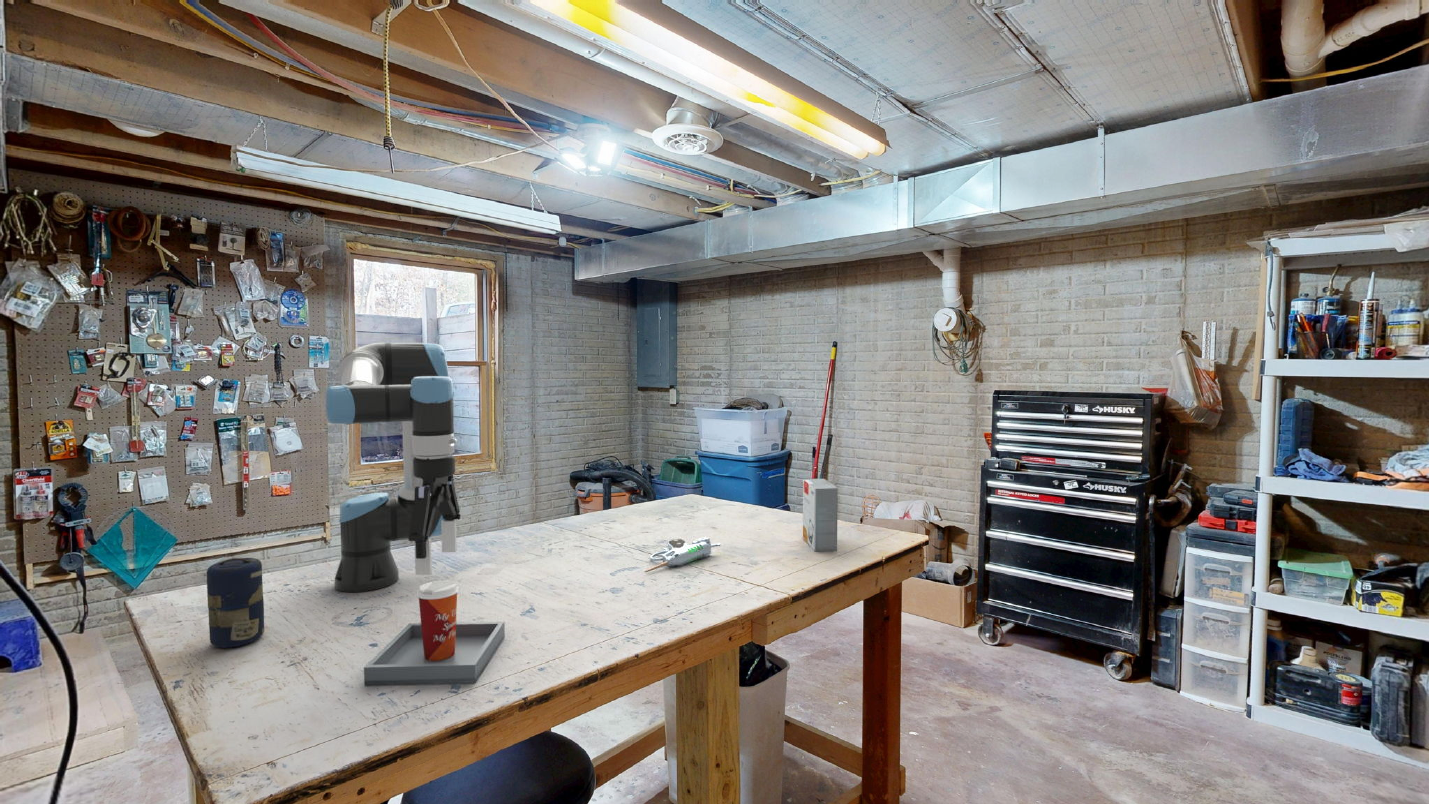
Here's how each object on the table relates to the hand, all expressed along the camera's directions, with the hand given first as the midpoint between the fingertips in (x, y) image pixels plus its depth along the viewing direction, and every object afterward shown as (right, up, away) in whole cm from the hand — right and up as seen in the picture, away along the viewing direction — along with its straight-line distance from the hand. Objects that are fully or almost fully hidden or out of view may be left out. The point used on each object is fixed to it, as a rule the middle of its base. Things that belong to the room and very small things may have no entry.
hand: (437, 562), depth 130 cm
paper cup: (0, -19, +1) cm, 19 cm away
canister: (-46, -19, +10) cm, 51 cm away
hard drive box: (+88, -14, +82) cm, 122 cm away
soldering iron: (+42, -16, +66) cm, 80 cm away
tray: (0, -20, +1) cm, 20 cm away
